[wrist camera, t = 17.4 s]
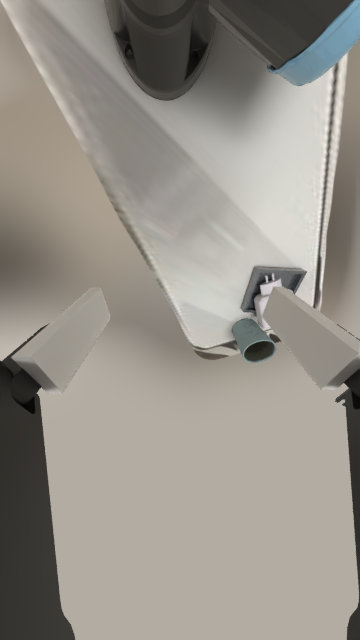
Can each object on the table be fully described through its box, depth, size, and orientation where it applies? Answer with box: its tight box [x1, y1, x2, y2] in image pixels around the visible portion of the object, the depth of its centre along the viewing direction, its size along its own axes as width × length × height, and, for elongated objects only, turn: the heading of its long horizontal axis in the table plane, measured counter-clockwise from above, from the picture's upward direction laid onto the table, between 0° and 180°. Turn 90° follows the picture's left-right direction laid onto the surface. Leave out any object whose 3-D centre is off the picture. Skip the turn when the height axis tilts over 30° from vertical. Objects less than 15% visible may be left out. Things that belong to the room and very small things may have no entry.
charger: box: [254, 273, 293, 328], centre depth 43 cm, size 5×9×15 cm
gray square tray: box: [241, 267, 307, 313], centre depth 45 cm, size 14×14×2 cm
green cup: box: [233, 319, 277, 363], centre depth 50 cm, size 10×10×12 cm
